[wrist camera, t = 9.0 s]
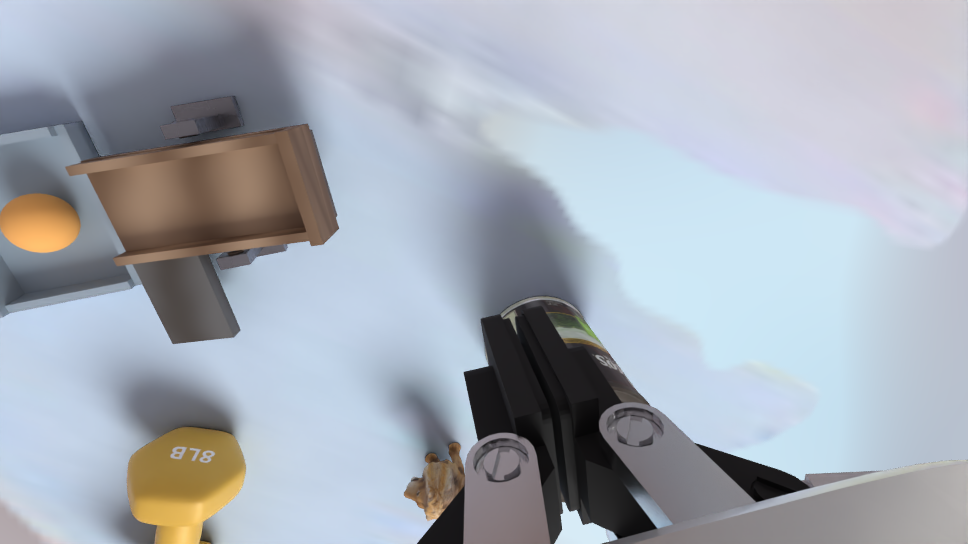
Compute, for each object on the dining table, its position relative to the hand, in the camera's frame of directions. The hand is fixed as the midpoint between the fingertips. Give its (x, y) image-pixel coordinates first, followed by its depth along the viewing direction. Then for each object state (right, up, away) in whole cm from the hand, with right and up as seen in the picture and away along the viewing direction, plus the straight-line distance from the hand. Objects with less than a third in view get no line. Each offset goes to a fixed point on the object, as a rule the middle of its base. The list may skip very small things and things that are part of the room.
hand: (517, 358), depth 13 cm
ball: (-31, +6, +19) cm, 37 cm away
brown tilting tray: (-18, +5, +22) cm, 29 cm away
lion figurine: (-5, -19, +37) cm, 42 cm away
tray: (-32, +6, +21) cm, 39 cm away
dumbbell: (-29, -20, +33) cm, 48 cm away
